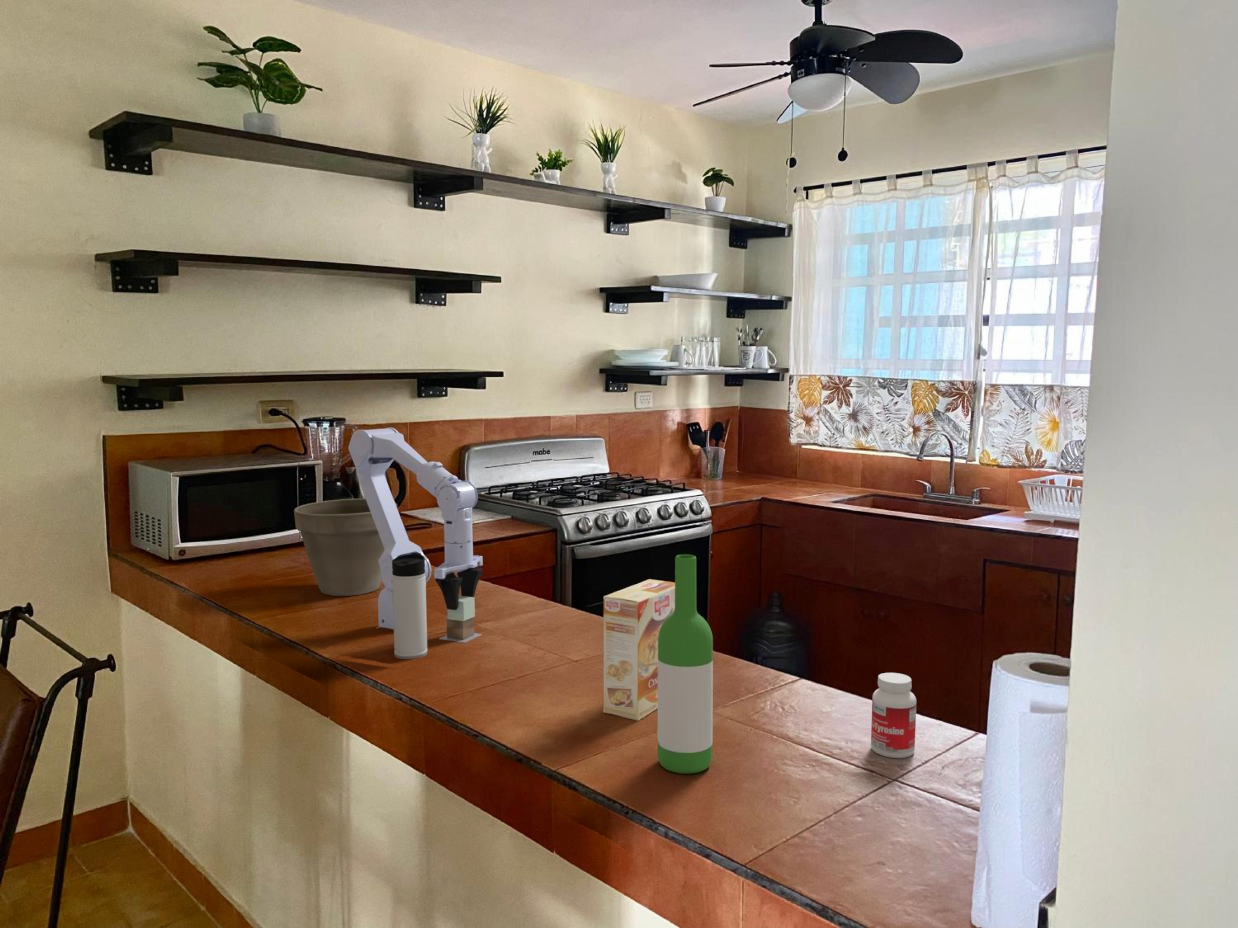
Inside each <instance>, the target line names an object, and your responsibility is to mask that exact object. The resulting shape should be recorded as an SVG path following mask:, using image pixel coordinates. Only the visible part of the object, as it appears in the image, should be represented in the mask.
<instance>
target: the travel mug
mask: <svg viewBox="0 0 1238 928" xmlns="http://www.w3.org/2000/svg"><path fill="white" fill-rule="evenodd" d="M425 557H426V556H425ZM425 557H424V556H422V555H421V553H412V554H411V555H403V556H399V557H397V558H395V559H393V560H392V569H393V571H392V577H393V578H392V588H393V621H394V629H393V647H394V648H393V649H394V652H393V653H394V657H395V658H396V659H400V660H414V659H420V658H422V657H423V658H424V657H425V656H427V654H428V626H427V625H428V624H427V581H426V578H425V569H424V568H425Z"/></svg>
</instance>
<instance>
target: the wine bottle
mask: <svg viewBox="0 0 1238 928" xmlns="http://www.w3.org/2000/svg"><path fill="white" fill-rule="evenodd" d="M674 563H675V564H674V565H675V566H674V567H675V568H674V569H675V570H674V583H675V610H674V613H673V614H672V615H670V616H669V617H668V618H667V619H666V620H665V621H664V623H663V624H662V626H661V628H660V632H659V636H658V708H657V759H658V762H659V763H660V766H662V768H663V769H666V770H667V771H669V772H672V773H675V774H683V775H684V774H685V775H686V774H687V775H688V774H696V773H700V772H703V771H704V770H706V769H707V768H709V766H710V765H711V764H712V761H713V744H714V743H713V738H714V736H713V735H714V734H713V728H714V726H713V724H714V723H713V722H714V721H713V717H714V716H713V715H714V712H713V711H714V706H713V703H714V702H713V699H714V695H713V694H714V693H713V692H714V689H713V687H714V684H713V683H714V676H713V675H714V655H713V654H714V647H713V646H714V642H713V641H714V638H713V637H714V636H713V633H712V630H711V627H710V625H709V623H708V622H707V620H705V618H704V617H703V616H701V615H700V613H698V611H697V557H696V555H694V554H689V553H688V554H687V553H684V554H677V555H676V556H675V557H674Z"/></svg>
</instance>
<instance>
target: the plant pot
mask: <svg viewBox="0 0 1238 928" xmlns="http://www.w3.org/2000/svg"><path fill="white" fill-rule="evenodd" d="M395 505H396V507H397V508H398V503H396V502H395ZM293 513H294V514H293V516H294V523H295V529H296V530H297V531H299V533H300V536H301V538H302V541H303V545H304V547H305V551H306V554H307V557H308V560H309V563H310V566H311V568H312V572H313V575H314V578H315V580H316V583H317V586H318V588H319V591H320V592H321V593H322V594H323V595H327V596H332V597H333V596H334V597H349V596H351V597H352V596H360V595H365V594H369V593H372V592H375V591H377V590H378V589H379V588H380V587H381V583H382V579H381V569H380V565H379V562H378V560H379V558H380V557H381V555H382V554H383V552H384V550H385V549H384V546H383V543H382V541H381V538H380V535H379V533H378V530H377V528H376V525H375V522H374V520H373V517H372V514H371V512H370V509H369V506H368V504H367V501H366V498H345V499H344V498H343V499H332V500H331V499H330V500H324V501H323V500H322V501H316V502H311V503H306V504H302V505H299V506H297V507H295V508H294V510H293Z"/></svg>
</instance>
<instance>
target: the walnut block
mask: <svg viewBox="0 0 1238 928" xmlns="http://www.w3.org/2000/svg"><path fill="white" fill-rule="evenodd" d="M474 633H475V617H472V618H470V619H468V620H465V621H459V620H451V619H448V617H447V618H446V635H447V638H452V639H459V640H465V639H467V638H469V637H471V636H473V635H474Z"/></svg>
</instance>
